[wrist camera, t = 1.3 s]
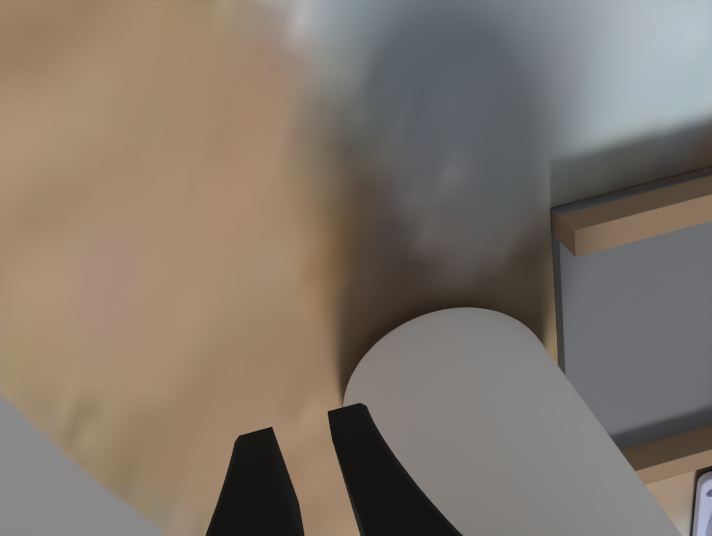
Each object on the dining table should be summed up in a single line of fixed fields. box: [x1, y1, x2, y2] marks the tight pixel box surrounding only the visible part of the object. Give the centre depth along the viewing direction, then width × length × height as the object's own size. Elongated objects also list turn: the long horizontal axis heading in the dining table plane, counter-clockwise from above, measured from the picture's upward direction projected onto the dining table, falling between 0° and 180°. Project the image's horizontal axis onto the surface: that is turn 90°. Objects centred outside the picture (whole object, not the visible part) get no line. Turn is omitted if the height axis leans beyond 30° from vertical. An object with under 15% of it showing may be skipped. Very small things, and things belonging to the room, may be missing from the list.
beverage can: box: [343, 307, 682, 536], centre depth 21 cm, size 8×8×12 cm
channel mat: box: [551, 166, 712, 485], centre depth 25 cm, size 13×12×2 cm
